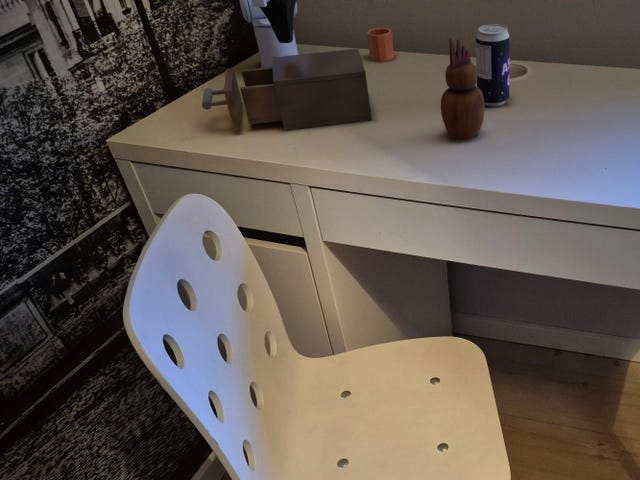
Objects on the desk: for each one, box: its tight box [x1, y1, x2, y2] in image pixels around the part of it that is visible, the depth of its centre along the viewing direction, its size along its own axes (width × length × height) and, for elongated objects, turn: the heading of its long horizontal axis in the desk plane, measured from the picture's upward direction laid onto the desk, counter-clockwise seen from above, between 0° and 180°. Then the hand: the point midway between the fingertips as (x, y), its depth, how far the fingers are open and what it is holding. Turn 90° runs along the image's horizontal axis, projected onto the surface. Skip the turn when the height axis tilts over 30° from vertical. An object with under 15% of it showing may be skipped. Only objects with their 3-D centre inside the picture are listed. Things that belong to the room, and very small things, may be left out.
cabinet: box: [272, 48, 373, 131], centre depth 113 cm, size 15×12×8 cm
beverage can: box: [475, 23, 511, 107], centre depth 114 cm, size 6×6×12 cm
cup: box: [366, 27, 395, 63], centre depth 134 cm, size 5×5×5 cm
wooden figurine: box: [440, 38, 485, 140], centre depth 103 cm, size 7×6×15 cm
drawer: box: [201, 67, 282, 131], centre depth 112 cm, size 18×10×6 cm, turn 104°
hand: (286, 41), depth 113 cm, fingers closed
